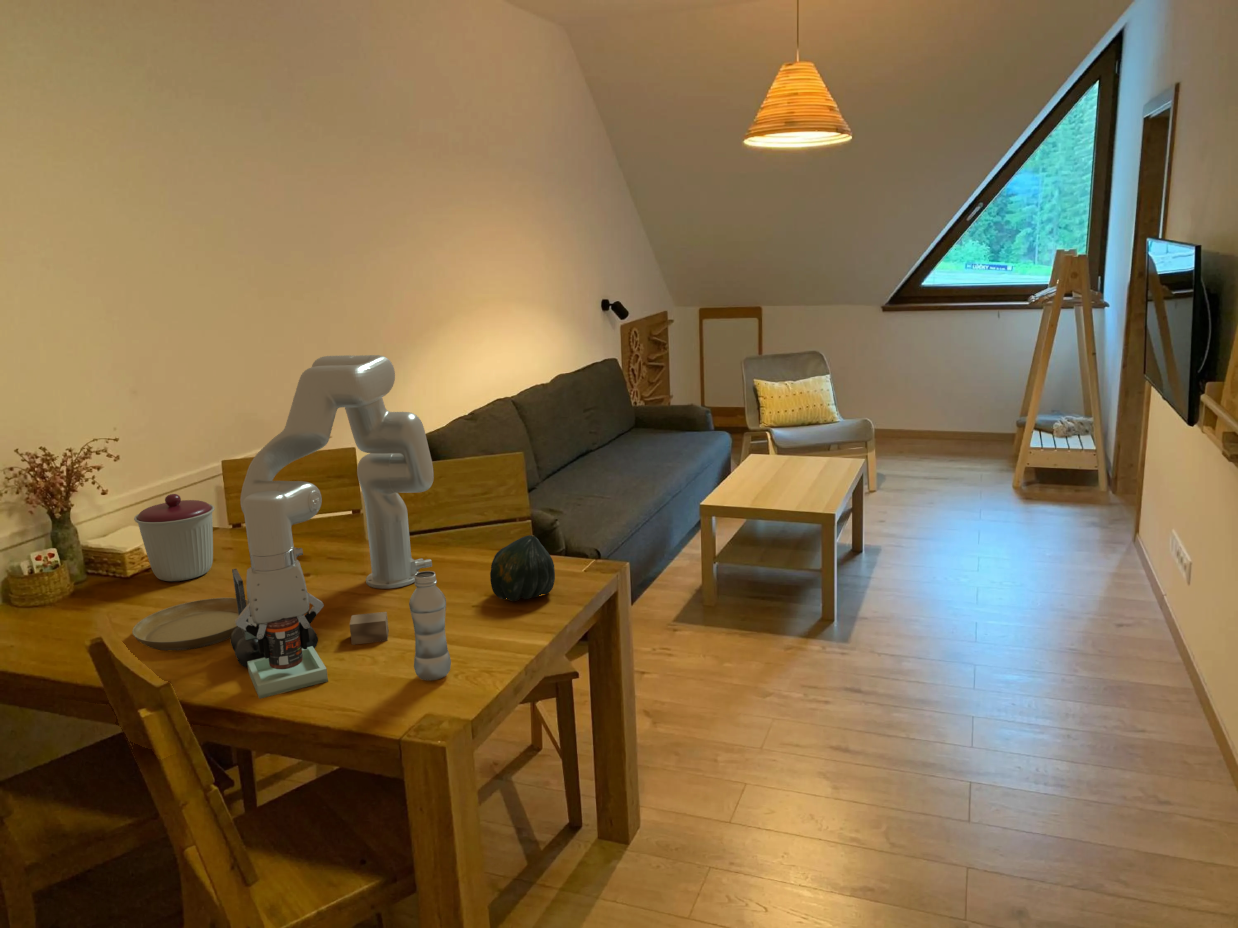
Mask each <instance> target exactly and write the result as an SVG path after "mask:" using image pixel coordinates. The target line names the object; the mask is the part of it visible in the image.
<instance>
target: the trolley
mask: <svg viewBox="0 0 1238 928" xmlns="http://www.w3.org/2000/svg"><path fill="white" fill-rule="evenodd" d="M231 574H232V578H233V579H232V580H233V585H234V592H235V598H236V602H237V609H238V616H239V615H240V614H241V612H242V611H243V610H244V609H245V607H246V600H247V599H246V594H245V587H244V581H243V580H244V579H242V576H241V575H240V573H239V571H238V569H237V568H233V569H232V570H231ZM298 621H299V620H298ZM246 622H248V623H250V624H252V625H254V626H255V627H256V623H254V622H253V619H252V617H250V616H249V617H248V619H247V620H246ZM299 623H300V621H299ZM308 632H309V640H310V642H308V643H307V647H311V646H313V648H314V649H316V648H317V645H318V642H319V641H318V640H319V637H318V634H317V633H316V631H315V629H314V628H313V627H312V626H311V625H310V626H309V628H308ZM265 635H266V634H265ZM229 643H230V646H231V648H232V650H233V651H234V654H235V658H236V660H237V662H238V663H239V664H240V665H241V666H242V667H244V668H246V669H248V664H247V661H251V660H256V659H260V658H264V657H265V656H264V654H263V653H262V654H260V652H259V647H258V640H257V637H255V636H254V635H252V634H250V633H248V632H247V631H246V630H244V629H242V628H240V627H236V628H235V629H234V630H233V632H232V633H231V637H230V638H229Z"/></svg>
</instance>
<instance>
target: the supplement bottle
mask: <svg viewBox="0 0 1238 928" xmlns="http://www.w3.org/2000/svg"><path fill="white" fill-rule="evenodd" d="M265 634H266V637H267V641H268V648H269V656H270V657H269V664H270V666H271V667H272V668H274V669H289V668H292V667H295V666H297V665H298V664H300V663H301V662H302V660H303V654H302V646H301V638H300V629H299V621H298V618H297V617H293V618H282V619H280V620H277V621H274V622H271V623H267V626H266V630H265Z"/></svg>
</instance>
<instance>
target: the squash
mask: <svg viewBox="0 0 1238 928" xmlns="http://www.w3.org/2000/svg"><path fill="white" fill-rule="evenodd" d="M490 566H491V567H490V572H489V575H490V577H489V578H490V579H489V581H490V584H491V585H490V587H491V590H492V592H493V594H494V595H495V596H496V597H497V598H498V599H501V600H504V599H506V598H507V599H509V601H510V602H517V601H519V600H520V599H521V598H522V599H524V600H530V599H531V598H532V597H533V598H537V596H539V595H541V594H546V595H547V593H548V594H549V593H550V592H551V591H552V590H553V588H554V584H555V582H556V581H555V579H556V573H555V572H556V570H555V564H554V561H553V558H552V557H551V555H550V553H549V552H548V550H547V549H546V548H545V546H543V544H542V543H541V542H540V540H539V539H538V538H537V537H536V536H535V535H533V534H531V535H524V536H523V537H520V538H518V539H516V540H514V541H513V542H511V543H509V544H508V545H506V546H505V547H502V548H501V549H500V550H498V551H497V552H496V553H495V554H494V556H493V559H492V562H491V564H490Z"/></svg>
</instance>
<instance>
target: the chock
mask: <svg viewBox="0 0 1238 928" xmlns="http://www.w3.org/2000/svg"><path fill="white" fill-rule="evenodd" d="M388 619H389V618H388V612H387V611H381V612H371V613H363V614H352V615H351V617H350V621H349V631H350V638H351V639H350V640H351V645H352V646H354V645H362V644H371V643H372V644H373V643H382V642H388V639H389V621H388Z"/></svg>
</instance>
